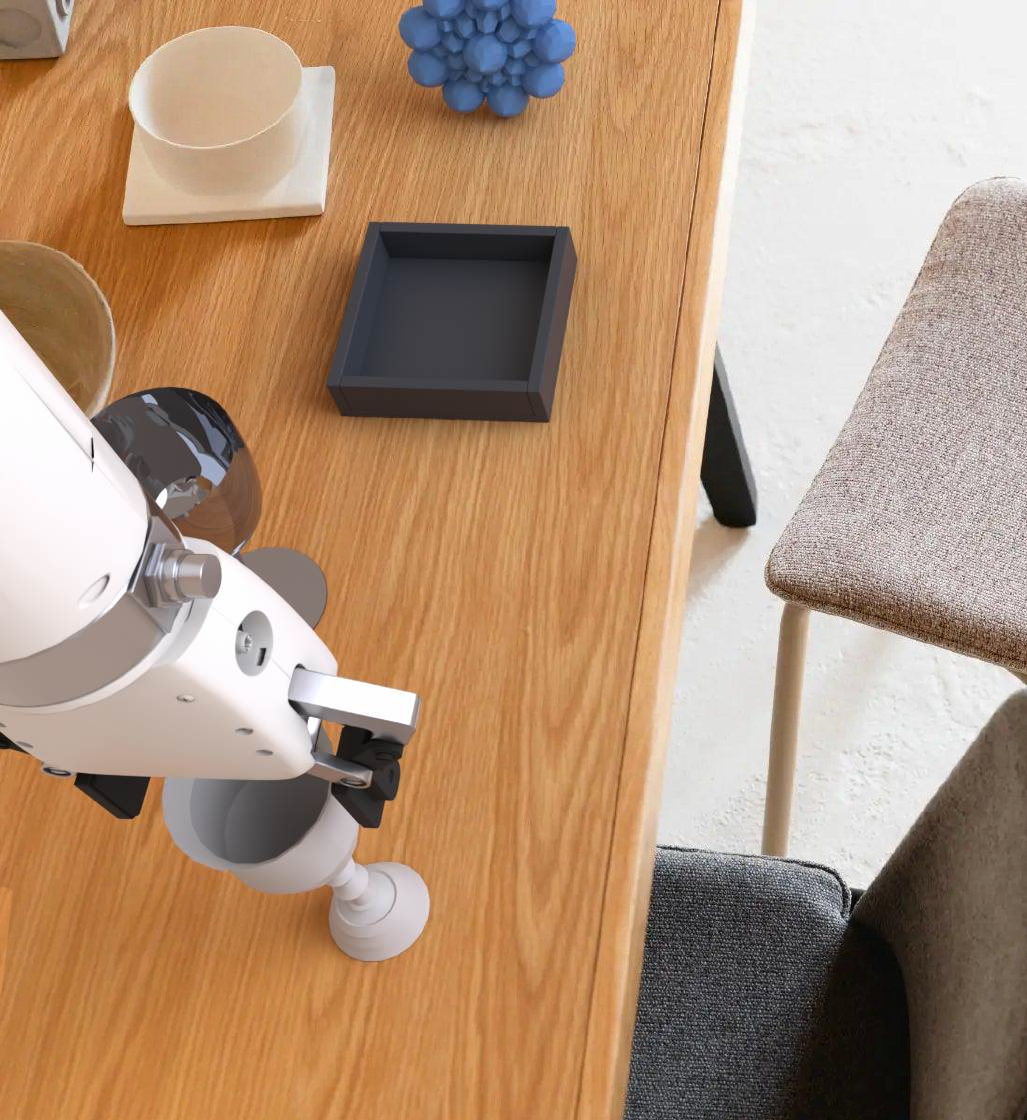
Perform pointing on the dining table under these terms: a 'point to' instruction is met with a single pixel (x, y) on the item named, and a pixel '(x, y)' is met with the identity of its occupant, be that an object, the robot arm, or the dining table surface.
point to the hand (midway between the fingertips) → (259, 787)
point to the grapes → (488, 51)
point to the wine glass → (206, 483)
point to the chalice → (299, 853)
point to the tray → (455, 322)
